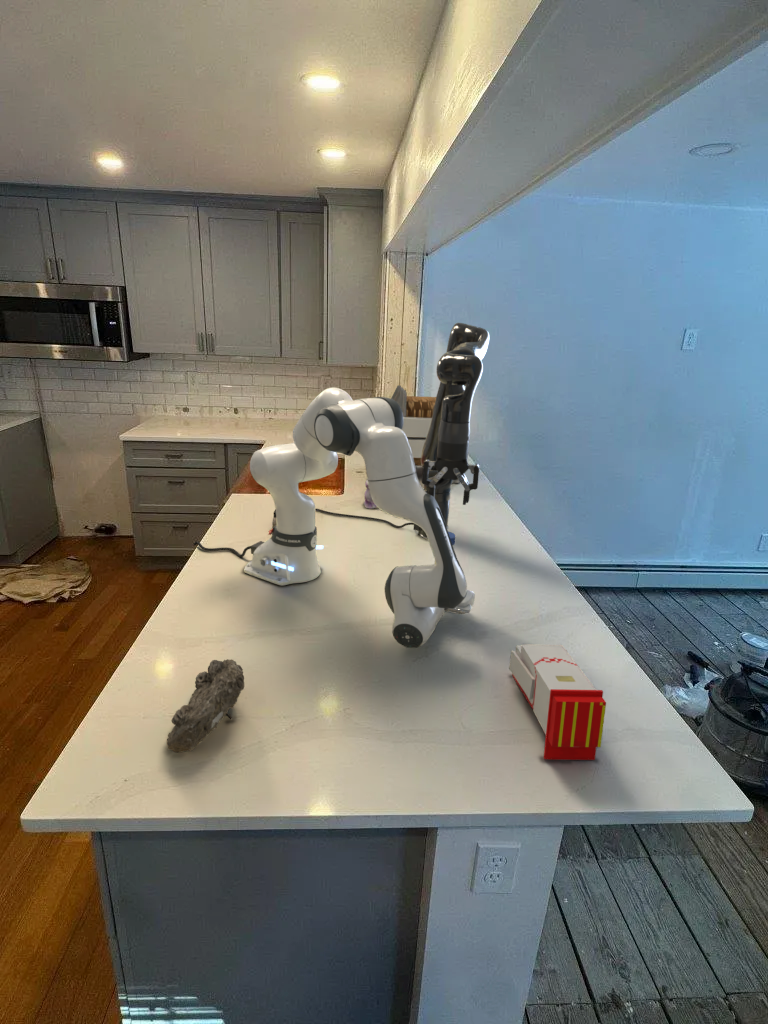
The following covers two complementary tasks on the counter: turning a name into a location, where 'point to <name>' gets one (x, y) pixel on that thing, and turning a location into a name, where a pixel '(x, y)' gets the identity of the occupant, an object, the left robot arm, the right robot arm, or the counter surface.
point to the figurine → (368, 498)
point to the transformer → (415, 420)
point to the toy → (560, 700)
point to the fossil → (206, 705)
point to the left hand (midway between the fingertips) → (442, 581)
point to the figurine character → (274, 519)
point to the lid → (452, 537)
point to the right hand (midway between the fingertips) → (448, 502)
